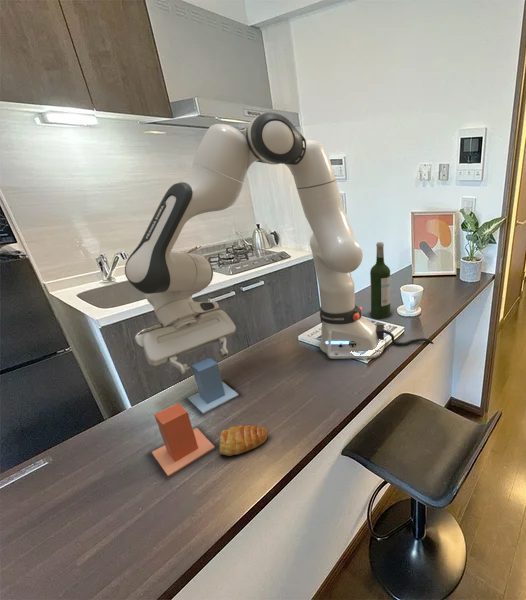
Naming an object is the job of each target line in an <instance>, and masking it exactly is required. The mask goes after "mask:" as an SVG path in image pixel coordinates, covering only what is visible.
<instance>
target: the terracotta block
mask: <svg viewBox="0 0 526 600" xmlns="http://www.w3.org/2000/svg"><path fill="white" fill-rule="evenodd" d="M153 417H154V419H155V421H156V424H157V427H158V430H159V433H160V436H161V438H162V441H163V444H164V445H165V447H166V450H167V452H168V453H169V454H170V456H171V457H172V458H173V459H174V461H175V462H176V461H178V460H179V459H181V458H183V457H184V456H186V455H188V454H190V453H191V452H193V451H195V450H196V449H198V445H197V442H196V438H195V435H194V432H193V429H194V428H193V426H192V423H191V419H190V416H189V412H188V411H187V410H186V409H185V408H184V406H183V405H182V404H180V402H177V403H175V404H173V405H170V406H169V407H167V408H165V409H163V410H160V411H158V412H156V413H154V416H153Z"/></svg>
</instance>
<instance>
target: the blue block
mask: <svg viewBox="0 0 526 600" xmlns="http://www.w3.org/2000/svg"><path fill="white" fill-rule="evenodd" d="M190 366H191V370H192V373H193V378H194V380H195V385H196V388H197V391H198V392H199V395H200V397H201V398H202V399H203V400H204V401H205V402H206V403H207V404H209V403H211V402H213V401H215V400H217V399H219V398H221V397H223V396H225V392H224V388H223V384H222V381H223V380H222V375H221V372H220V368H219V363H218V362H216V361H215V360H214V359H213V358H211V357H207V358H204V359H202V360H200V361H197V362H194V363H192V364H190ZM198 392H197V393H198Z"/></svg>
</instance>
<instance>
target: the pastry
mask: <svg viewBox="0 0 526 600" xmlns="http://www.w3.org/2000/svg"><path fill="white" fill-rule="evenodd" d="M267 438H268V434H267V428H264V427H263V426H260V425H259V426H258V425H257V424H255V425H252V424H247V425H245V424H239V425H238V426H236V425H231V426H230V428H228V429H223V430H222V431H221V433H220V436H219V454H220V455H224V456H227V457H228V456H229V457H231V456H234V455H241V454H243V453H245V452H249V451H250V450H253V449H257V448H258V447H260V446H261V445H262V444H264V443H265V441H267Z"/></svg>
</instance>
